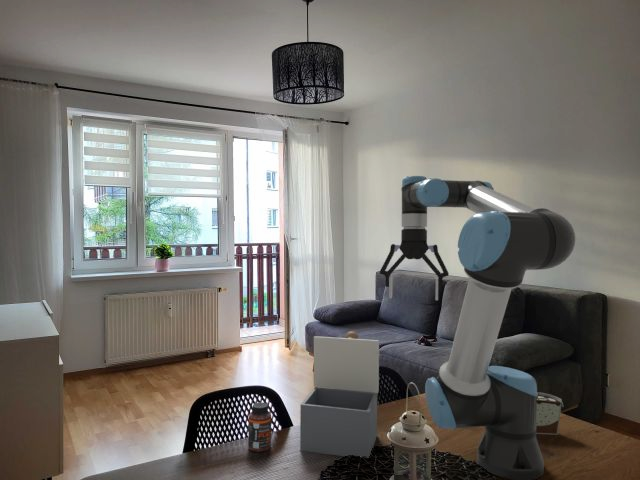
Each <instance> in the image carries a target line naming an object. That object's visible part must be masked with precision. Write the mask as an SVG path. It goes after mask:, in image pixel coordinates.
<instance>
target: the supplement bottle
mask: <svg viewBox="0 0 640 480" xmlns="http://www.w3.org/2000/svg"><path fill="white" fill-rule="evenodd" d="M251 410H252V411H251V412H250V413H249V415H248V427H247V428H248V431H247V432H248V435H247V436H248V437H247V438H248V441H247V442H248V445H247V446H248V449H249V450H250V451H252V452H256V453H260V452H262V453H263V452H265V451H267V450H269V449H270V448H271V446H272V413H271V412H270V411H269V405H268V403H266V402H262V401H260V402H259V401H258V402H255V403H253V404H252V409H251Z"/></svg>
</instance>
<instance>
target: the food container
mask: <svg viewBox="0 0 640 480" xmlns="http://www.w3.org/2000/svg"><path fill="white" fill-rule="evenodd" d="M537 394H538V397H537V413H536V435H551V436H552V435H556V436H558V435H559V434H558V433H559V429H560V428H559V426H560V421H561V419H560V418H561V412H562V408H564V402H563V399H562V398H560V397H558V396H555V395H553V394H549V393H545V392H538V391H537Z"/></svg>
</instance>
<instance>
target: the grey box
mask: <svg viewBox="0 0 640 480" xmlns="http://www.w3.org/2000/svg"><path fill="white" fill-rule="evenodd" d="M299 412H300V418H299V420H300V422H299V424H300V427H299V431H300V433H299V434H300V437H299V438H300V442H299V443H300V444H299V445H300V449H299V450H300V451H302V452H309V453H315V454H324V455H329V456H330V455H331V456H338V457H345V456H348V455H356V456H366V457H369V456H370V453H371V450H372V448H373V449H374V446H375V443H376V440H377V437H378V436H377V435H378V393H374V392H363V391H353V390H342V389H331V388H321V387H313V389H311V391H310V392H309V394H308V395H307V396H306V398H304V399H303V401H302V402H301V403H300V411H299ZM372 451H373V450H372ZM371 454H372V453H371ZM370 457H371V456H370Z"/></svg>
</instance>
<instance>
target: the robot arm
mask: <svg viewBox="0 0 640 480" xmlns="http://www.w3.org/2000/svg"><path fill="white" fill-rule="evenodd" d="M492 185H493V184H492V183H491V182H488V181H482V180H449V179H448V180H447V179H446V180H445V179H440V178H436V177H435V178H427V177H426V176H424V175H423V176H422V175H409V176H404V177H403V178H402V182H401V189H400V190H401V228H402V229H401V230H400V231H401V238H400V239H401V242H400V244H395V243H392V244H390V250H389V253H388V255H387V257H386V259H384V260H385V261H384V262H383V264H382V266H381V268H380V270H379V274H380V275H382V276H384V277H385V287H386V288H388V299H392V298H393V289H394V287H393V286H394V285H393V284H394V283H393V281H394V280H393V279H394V277H393V275H391V274H392V273H393V272H395V270H396V269H397V268H398V267H399V266H400V265H401V263H402V262H403V261H404V260H405V259H408V260H421V259H422V260H423V261H424V262H425V263H426V265H428V267H429V268H430V269H431V271H433V273H435V275H436V276H437V277H435V297H434V298H435V301H439V290H441V289H443V279H444V278H445V277H448V276H449V274H450V273H449V271H448V269H447V267H446V264H445V263H444V260H443V259H442V257H441V254H440V253H439V248H438V245H437V244H434V245H433V244H430V245H428V230H427V226H428V208H464V209H465V208H466V209H468V210H469V211H472V212H473V213H474V215H472V216H470V217H469V218H468V219H467V220H466V221H465V223H464V225H463V226H462V228H461V230H460V232H459V235H458V241H457V248H458V251H457V255H458V256H457V257H458V260H459V263H460V264H461V266H462V267H463V272H464V273H465V274H466V276H467V277H468V281H467V285H466V290H465V294H464V297H463V302H462V306H461V309H460V314H459V319H458V322H457V326H456V329H455V334H454V337H453V338H454V339H453V341H452V342H453V343H452V346H451V350H450V353H449V354H450V355H449V358H448V361H445V362H444V363H442V364H441V365H440V367H439V370H438V375H437V376H436V377H435V376H431V377H430V378H429V377H428V378H427V380H426V382H425V384H424V386H425V388H424V392H425V393H424V394H425V399H426V404H427V409H428V411H429V414H430V417H431V419H432V421H433V423H435V425H436V426H437V427H439V428H440V429H446V430H447V429H448V430H450V429H452V430H456V429H458V430H459V429H468V428H478V427H484V431H483V433H482V436H481V439H480V441H479V444H478V447H477V450H476V461H477V463H478V465H479V466H480V467H481V466H482V467H483V468H484V470H485V469H486V470H487V471H486V470H485V471H486V472H488V473H490V474H492V475H494V476H497V477H500V478H504V479H507V480H536V479H537V480H538V479H539V478H541V477H542V476H543V475H544V471H545V469H544V467H545V463H544V462H545V461H544V458H543V455H542V452H541V449H540V446H539V443H538V442H539V441H538V439H537V434H536V413H537V397H538V394H537V392H538V386H537V381H536V379H535V377H534V376H532V375H531V374H529V373H528V372H525V371H522V370H520V369H519V370H518V369H515V368H511V367H508V366H507V367H506V366H501V365H500V366H499V365H490V364H491V359H492V356H493V354H494V350H495V346H496V343H497V339H498V337H499V334H500V333H499V332H500V329H501V326H502V323H503V319H504V317H505V313H506V309H507V306H508V302H509V300H510V295H511V292H512V290H514V289H517V288H519V287H520V286H521V285H522V283H523V280H524V277H525V274H526V272H527V271H536V270H537V271H538V270H539V271H540V270H549V269H552V268H553V269H554V268H555V267H557V266H559V265H561V264H562V263H564V262H565V261H566V260H567V259H568V258H569V257H570V256H571V254H572V253H573V251H574V248H575V246H576V245H575V244H576V233H575V229H574V227H573V225H572V224H571V222H570V221H569V220H568V219H567V218H565V216H562V215H561V214H559V213H557V212H554V211H552V210H549V209H547V208H545V207H544V208H542V207H538V208H534V207H532V206H530V205H527V204H525V203H523V202H521V201H519V200H517V199H514V198H511V197H509V196H507V195H505V194H504V193H501V192H499V191H496V190H495V189H494V187H493V186H492ZM398 250H400V252H401V253H402V254H401V255H400V257H399V258H398V259H397V261H395V262H394V263H393V265H392V266H391V267H390V268H389V269H388V270H387V267H388V266H389V264H390V262H391V260H392V258H393V256H394V254H395V252H398ZM428 250H430V252H431V253H433V255H434V257H435V258H436V260H437V263H438V265H439V267H440V268H441V271H442V272H441V271H440V270H439V269H438V267H436V266H435V264H434V263H433V262H432V260H431V259H430V258H429V257H428V255H427V254H426V253H427V251H428ZM482 467H481V468H482ZM483 468H482V469H483Z"/></svg>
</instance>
